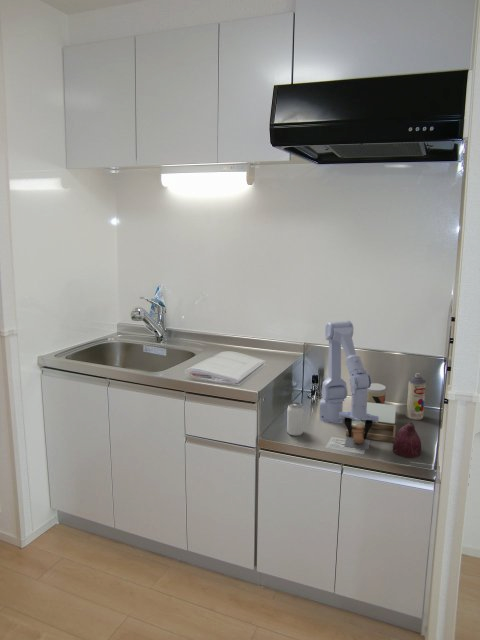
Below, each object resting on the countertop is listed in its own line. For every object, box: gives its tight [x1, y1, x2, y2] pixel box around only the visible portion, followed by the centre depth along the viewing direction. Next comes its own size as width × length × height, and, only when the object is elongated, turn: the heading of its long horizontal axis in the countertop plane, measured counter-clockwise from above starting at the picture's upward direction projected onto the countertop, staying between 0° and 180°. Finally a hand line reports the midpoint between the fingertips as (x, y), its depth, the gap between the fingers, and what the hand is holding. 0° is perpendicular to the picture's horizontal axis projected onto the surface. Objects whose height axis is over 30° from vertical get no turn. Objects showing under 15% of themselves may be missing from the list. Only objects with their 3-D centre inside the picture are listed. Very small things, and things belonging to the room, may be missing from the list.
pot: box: [351, 425, 365, 444], centre depth 190 cm, size 5×5×6 cm
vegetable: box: [392, 421, 422, 459], centre depth 182 cm, size 10×10×15 cm
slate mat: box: [344, 436, 371, 451], centre depth 191 cm, size 9×8×1 cm
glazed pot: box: [352, 420, 365, 426], centre depth 199 cm, size 5×5×4 cm
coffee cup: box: [367, 382, 387, 404], centre depth 219 cm, size 9×9×12 cm
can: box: [286, 401, 305, 437], centre depth 200 cm, size 6×6×12 cm
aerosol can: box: [406, 372, 427, 421], centre depth 212 cm, size 7×7×20 cm
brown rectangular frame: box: [345, 419, 397, 443], centre depth 203 cm, size 19×20×5 cm
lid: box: [367, 402, 397, 425], centre depth 208 cm, size 18×10×1 cm, turn 71°
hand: (357, 437), depth 190 cm, fingers closed on pot, 5 cm apart
